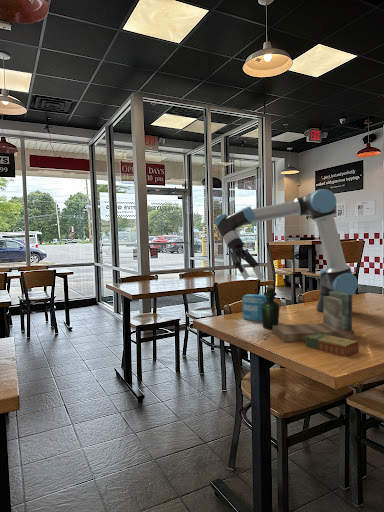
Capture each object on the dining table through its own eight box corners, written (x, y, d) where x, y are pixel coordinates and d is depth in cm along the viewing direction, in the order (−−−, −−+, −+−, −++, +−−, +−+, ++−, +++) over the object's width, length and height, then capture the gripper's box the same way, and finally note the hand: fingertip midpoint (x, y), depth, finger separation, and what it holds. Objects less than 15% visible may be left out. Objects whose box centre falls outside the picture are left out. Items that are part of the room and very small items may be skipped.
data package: (242, 319, 177) (242, 295, 176) (245, 317, 181) (244, 294, 181) (266, 321, 172) (266, 296, 171) (268, 319, 176) (268, 295, 175)
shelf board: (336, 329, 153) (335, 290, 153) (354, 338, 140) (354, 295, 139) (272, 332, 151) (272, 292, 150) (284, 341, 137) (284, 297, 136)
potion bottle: (268, 330, 154) (268, 288, 154) (257, 326, 162) (257, 286, 161) (283, 328, 158) (283, 287, 157) (272, 324, 165) (271, 285, 164)
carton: (345, 358, 118) (345, 345, 118) (304, 347, 131) (304, 335, 131) (359, 353, 123) (359, 340, 123) (318, 342, 136) (318, 331, 136)
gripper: (241, 248, 187) (261, 282, 179) (213, 244, 168) (234, 282, 160) (252, 239, 184) (272, 274, 175) (224, 234, 164) (246, 273, 156)
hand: (254, 278), depth 167 cm, fingers open, 13 cm apart
